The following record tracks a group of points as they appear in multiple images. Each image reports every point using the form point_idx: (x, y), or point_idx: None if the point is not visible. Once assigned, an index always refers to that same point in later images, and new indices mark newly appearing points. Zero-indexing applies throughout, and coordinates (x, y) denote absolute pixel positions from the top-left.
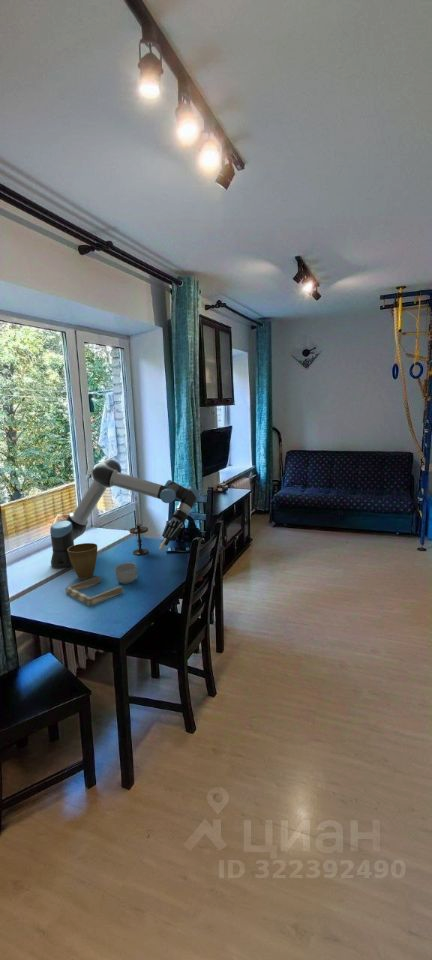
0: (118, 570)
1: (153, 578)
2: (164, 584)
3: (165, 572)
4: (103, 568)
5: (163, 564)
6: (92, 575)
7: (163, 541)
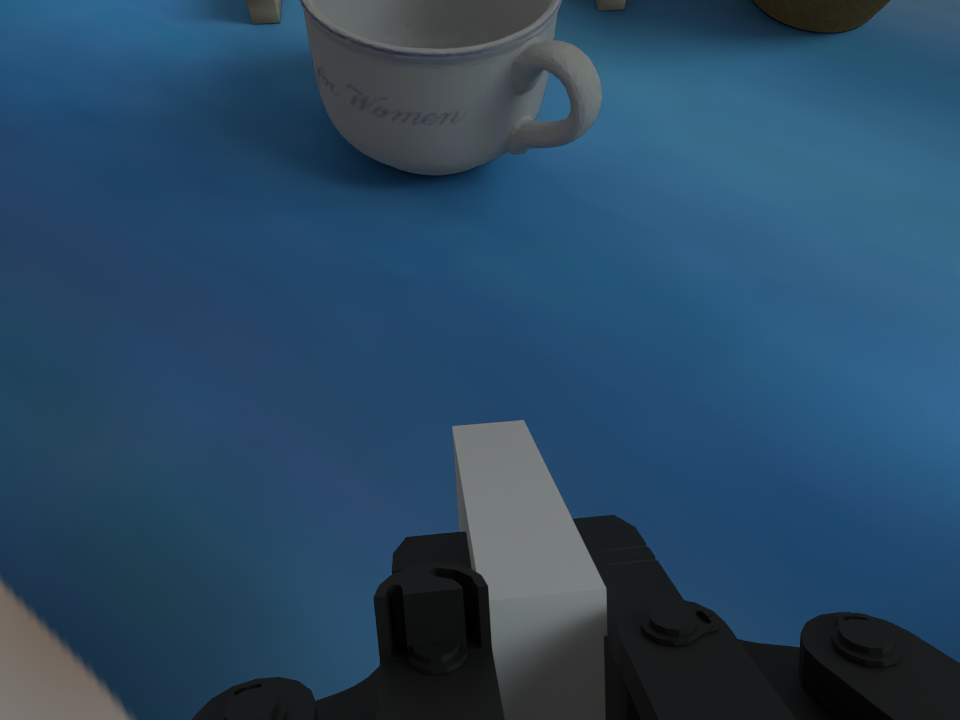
0: (535, 13)
1: (259, 310)
2: (7, 298)
3: (277, 515)
4: (942, 138)
5: None
6: (770, 4)
7: (514, 516)
